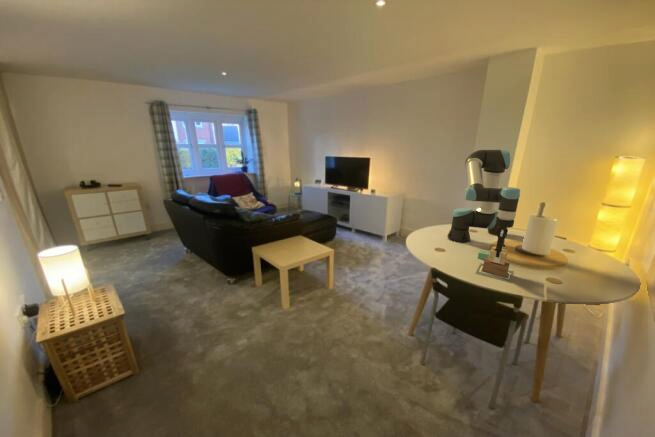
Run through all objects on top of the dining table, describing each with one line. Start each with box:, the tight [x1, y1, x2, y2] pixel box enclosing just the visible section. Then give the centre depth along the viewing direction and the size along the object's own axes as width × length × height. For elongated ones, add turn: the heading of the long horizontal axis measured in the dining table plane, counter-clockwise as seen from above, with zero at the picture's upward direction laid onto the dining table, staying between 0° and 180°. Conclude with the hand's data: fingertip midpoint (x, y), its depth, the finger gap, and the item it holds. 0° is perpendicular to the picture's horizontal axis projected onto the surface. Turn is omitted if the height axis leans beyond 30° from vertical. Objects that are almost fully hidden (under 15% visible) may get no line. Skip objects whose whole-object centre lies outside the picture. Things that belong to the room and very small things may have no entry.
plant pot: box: [487, 211, 501, 236], centre depth 199 cm, size 15×15×16 cm
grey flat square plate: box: [474, 262, 515, 284], centre depth 138 cm, size 16×16×1 cm
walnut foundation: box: [482, 257, 510, 278], centre depth 137 cm, size 6×11×6 cm, turn 51°
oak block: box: [488, 246, 509, 265], centre depth 135 cm, size 7×7×6 cm
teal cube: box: [477, 249, 490, 261], centre depth 155 cm, size 5×5×5 cm
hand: (497, 259), depth 136 cm, fingers closed on oak block, 7 cm apart
